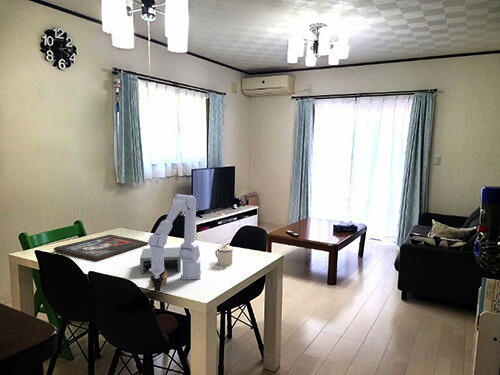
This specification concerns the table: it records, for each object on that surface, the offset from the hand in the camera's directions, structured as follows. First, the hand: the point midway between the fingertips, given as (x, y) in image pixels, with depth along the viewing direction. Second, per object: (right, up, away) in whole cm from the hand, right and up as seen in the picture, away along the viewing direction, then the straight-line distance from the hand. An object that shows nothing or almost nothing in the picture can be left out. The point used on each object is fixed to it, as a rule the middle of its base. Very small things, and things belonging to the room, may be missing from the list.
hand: (158, 287), depth 171 cm
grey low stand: (-6, +2, +34) cm, 34 cm away
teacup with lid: (+27, +2, +43) cm, 51 cm away
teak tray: (-3, 0, +15) cm, 15 cm away
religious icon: (-54, +6, +70) cm, 89 cm away
